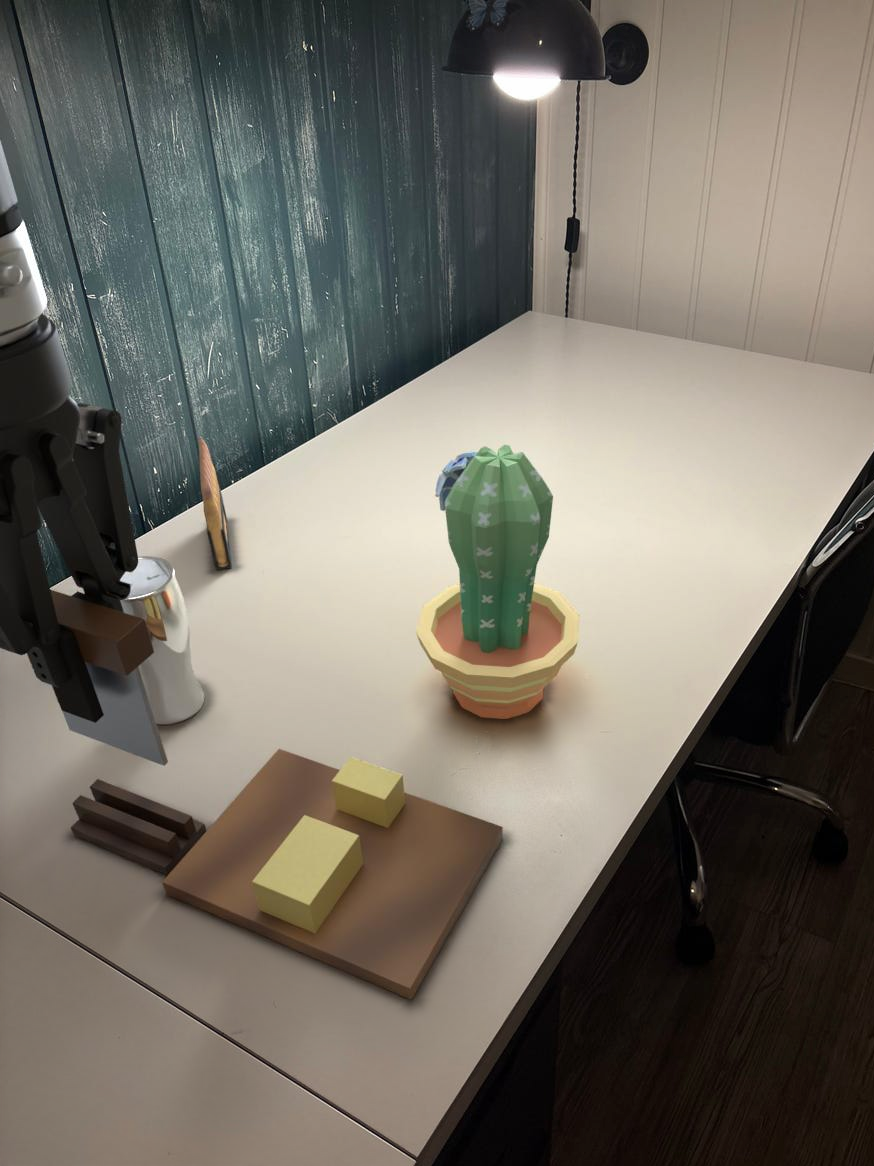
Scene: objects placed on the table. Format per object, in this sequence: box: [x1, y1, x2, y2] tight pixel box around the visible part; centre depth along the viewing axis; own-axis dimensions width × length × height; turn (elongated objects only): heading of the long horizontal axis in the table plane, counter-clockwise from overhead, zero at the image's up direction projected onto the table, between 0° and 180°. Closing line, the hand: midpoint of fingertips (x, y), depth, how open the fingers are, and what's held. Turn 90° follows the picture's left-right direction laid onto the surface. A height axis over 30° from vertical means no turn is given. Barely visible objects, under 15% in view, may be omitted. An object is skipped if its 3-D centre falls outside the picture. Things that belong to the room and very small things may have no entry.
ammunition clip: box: [198, 437, 233, 571], centre depth 110 cm, size 11×2×12 cm, turn 14°
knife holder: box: [70, 778, 207, 876], centre depth 79 cm, size 10×5×3 cm, turn 65°
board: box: [161, 748, 504, 1000], centre depth 76 cm, size 22×16×2 cm
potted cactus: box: [415, 444, 581, 720], centre depth 85 cm, size 15×15×25 cm
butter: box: [252, 815, 363, 933], centre depth 72 cm, size 5×7×4 cm
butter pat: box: [332, 756, 405, 828], centre depth 78 cm, size 5×3×4 cm, turn 65°
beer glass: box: [120, 556, 205, 725], centre depth 87 cm, size 7×7×15 cm
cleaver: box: [50, 589, 169, 767], centre depth 59 cm, size 9×2×11 cm, turn 65°
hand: (100, 696), depth 59 cm, fingers closed on cleaver, 2 cm apart
